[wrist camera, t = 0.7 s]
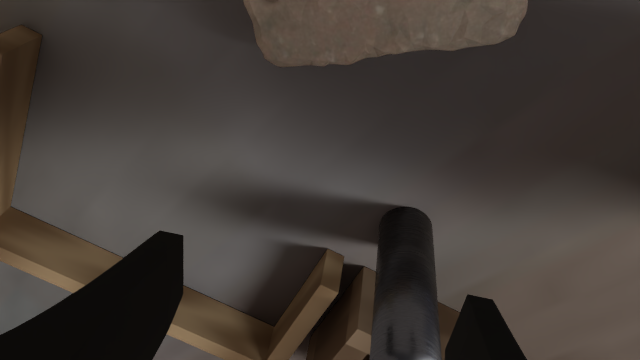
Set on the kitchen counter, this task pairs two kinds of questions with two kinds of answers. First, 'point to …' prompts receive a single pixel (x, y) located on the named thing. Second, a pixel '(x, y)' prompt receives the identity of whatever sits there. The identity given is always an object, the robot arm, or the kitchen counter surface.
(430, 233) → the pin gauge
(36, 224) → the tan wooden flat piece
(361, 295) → the walnut gauge block
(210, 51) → the kitchen counter surface
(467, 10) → the brick
